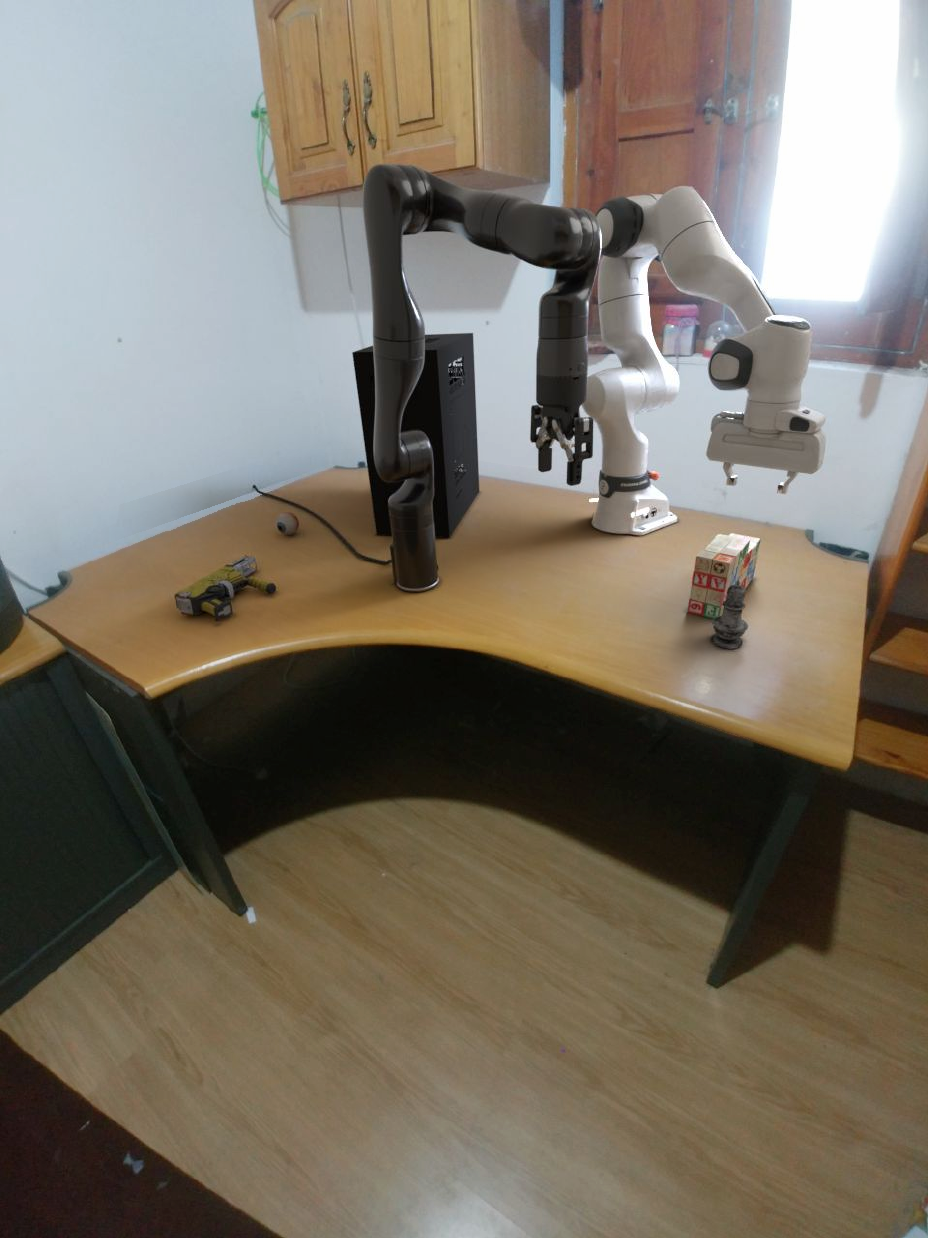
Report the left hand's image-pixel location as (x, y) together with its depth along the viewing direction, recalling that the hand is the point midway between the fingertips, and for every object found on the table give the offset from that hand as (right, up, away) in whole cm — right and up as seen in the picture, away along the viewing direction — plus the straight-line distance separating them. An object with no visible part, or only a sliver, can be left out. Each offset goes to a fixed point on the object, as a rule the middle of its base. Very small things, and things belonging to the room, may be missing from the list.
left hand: (558, 477), depth 97 cm
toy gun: (-65, -18, +37) cm, 77 cm away
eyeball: (-63, 0, +68) cm, 93 cm away
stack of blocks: (+38, -18, +26) cm, 49 cm away
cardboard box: (-25, +8, +78) cm, 82 cm away
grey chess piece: (+32, -27, +11) cm, 43 cm away
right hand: (+42, +3, +20) cm, 46 cm away
